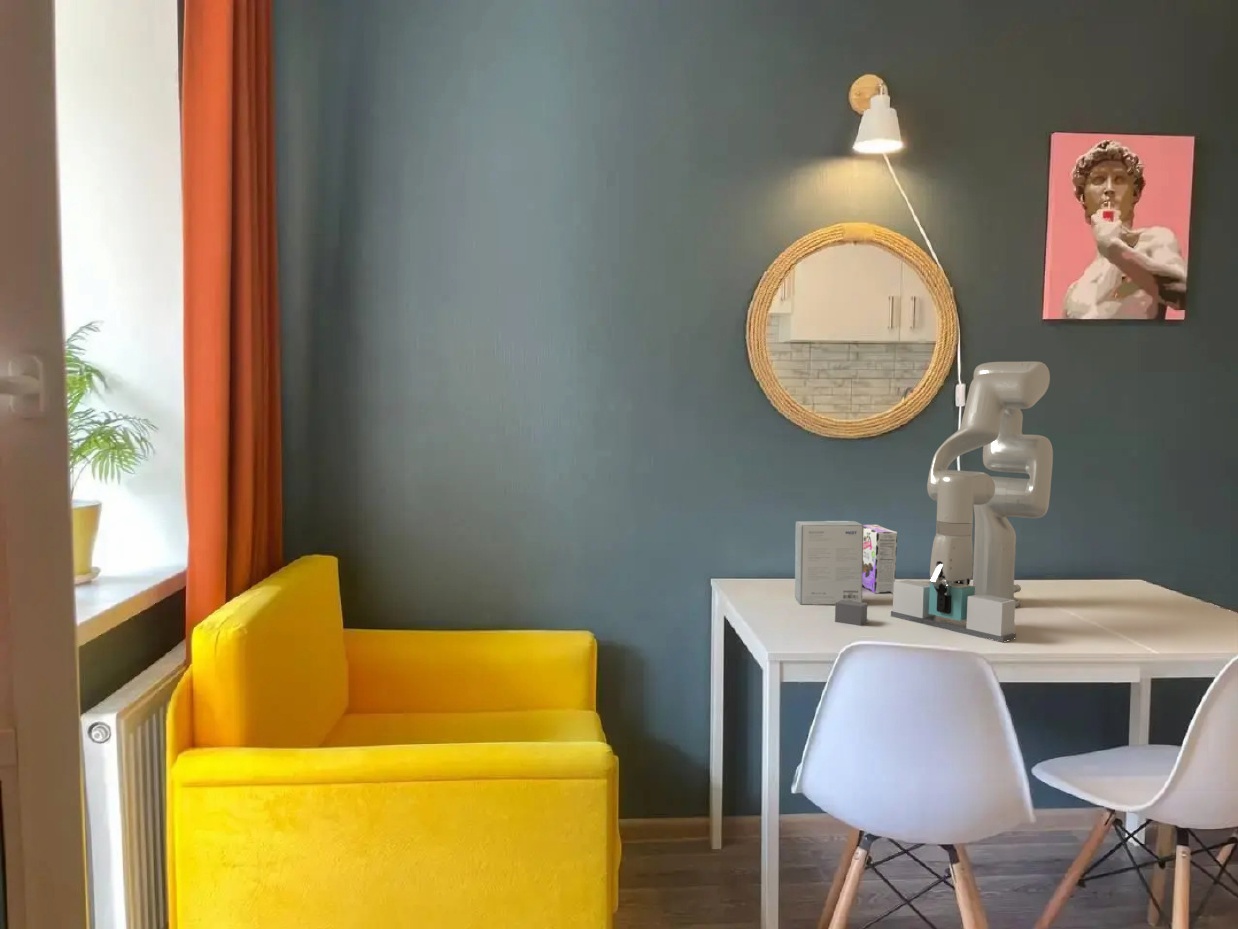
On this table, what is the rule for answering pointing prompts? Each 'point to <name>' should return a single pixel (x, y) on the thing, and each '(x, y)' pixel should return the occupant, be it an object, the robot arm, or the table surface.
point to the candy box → (879, 558)
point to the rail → (952, 626)
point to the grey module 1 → (911, 598)
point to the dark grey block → (851, 612)
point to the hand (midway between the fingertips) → (951, 610)
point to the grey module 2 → (990, 614)
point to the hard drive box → (828, 562)
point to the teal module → (952, 601)
